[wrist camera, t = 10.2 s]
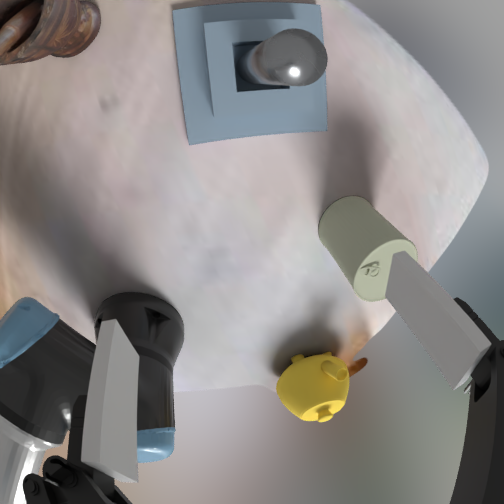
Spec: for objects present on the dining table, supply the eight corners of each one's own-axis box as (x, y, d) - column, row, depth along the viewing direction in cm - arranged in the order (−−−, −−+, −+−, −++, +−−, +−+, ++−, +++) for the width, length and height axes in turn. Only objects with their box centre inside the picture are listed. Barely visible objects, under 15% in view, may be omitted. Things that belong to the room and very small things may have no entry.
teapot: (288, 330, 51) (310, 394, 40) (359, 326, 55) (388, 380, 43) (265, 387, 61) (278, 439, 50) (325, 380, 65) (343, 427, 54)
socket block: (189, 143, 31) (187, 152, 27) (173, 12, 22) (169, 2, 18) (324, 129, 32) (340, 137, 28) (316, 6, 23) (332, -2, 19)
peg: (238, 85, 27) (268, 87, 15) (235, 51, 25) (263, 28, 13) (275, 82, 27) (329, 86, 16) (272, 49, 25) (325, 30, 14)
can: (329, 190, 37) (375, 235, 27) (382, 201, 39) (431, 245, 29) (309, 248, 42) (342, 305, 32) (360, 254, 44) (398, 304, 34)
